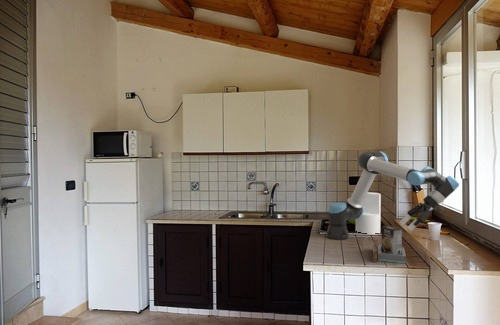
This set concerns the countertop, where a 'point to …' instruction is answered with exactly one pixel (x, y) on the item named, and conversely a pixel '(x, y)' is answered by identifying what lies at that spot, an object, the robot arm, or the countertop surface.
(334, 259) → the countertop surface
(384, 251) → the coffee box
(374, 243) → the board
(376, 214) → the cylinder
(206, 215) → the countertop surface
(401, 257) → the tray
